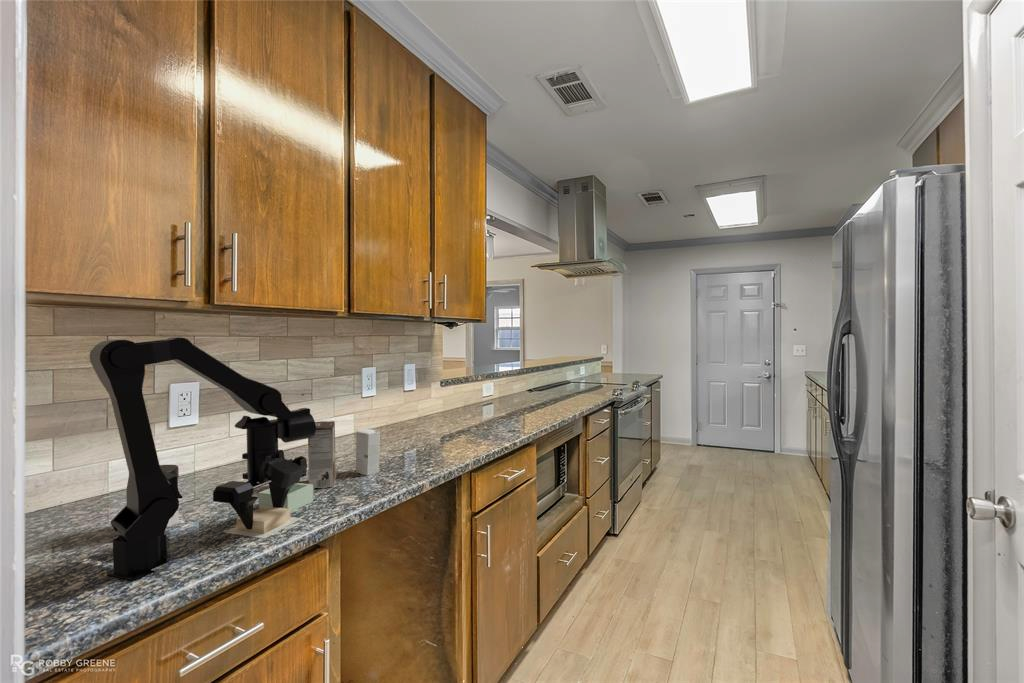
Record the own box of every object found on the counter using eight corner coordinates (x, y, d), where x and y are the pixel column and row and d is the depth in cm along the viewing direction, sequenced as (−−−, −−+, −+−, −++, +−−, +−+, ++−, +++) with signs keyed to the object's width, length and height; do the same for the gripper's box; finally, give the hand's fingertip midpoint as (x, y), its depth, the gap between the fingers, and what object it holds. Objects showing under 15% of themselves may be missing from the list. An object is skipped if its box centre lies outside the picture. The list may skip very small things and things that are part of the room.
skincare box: (355, 472, 134) (354, 431, 134) (368, 468, 138) (367, 428, 137) (367, 476, 130) (367, 433, 130) (381, 472, 134) (380, 430, 134)
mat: (264, 541, 89) (264, 538, 89) (224, 535, 92) (224, 532, 92) (301, 521, 99) (301, 518, 99) (264, 516, 102) (264, 513, 102)
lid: (264, 534, 91) (263, 522, 91) (236, 530, 93) (236, 518, 93) (290, 520, 98) (290, 509, 98) (264, 516, 100) (264, 505, 100)
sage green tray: (287, 516, 102) (287, 495, 102) (259, 512, 104) (258, 492, 104) (313, 503, 109) (313, 484, 109) (286, 500, 112) (285, 481, 112)
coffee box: (311, 479, 128) (310, 421, 127) (336, 477, 130) (335, 420, 129) (307, 490, 119) (306, 428, 119) (334, 487, 121) (333, 426, 121)
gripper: (256, 461, 84) (258, 546, 84) (325, 439, 102) (327, 509, 102) (210, 457, 87) (211, 539, 88) (284, 436, 105) (286, 504, 105)
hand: (264, 522), depth 96 cm, fingers closed on lid, 7 cm apart
